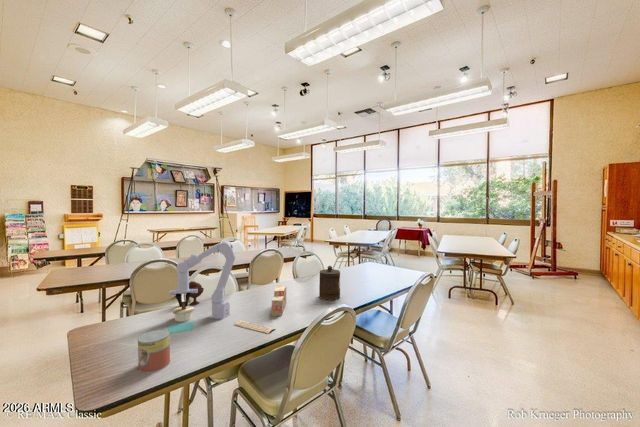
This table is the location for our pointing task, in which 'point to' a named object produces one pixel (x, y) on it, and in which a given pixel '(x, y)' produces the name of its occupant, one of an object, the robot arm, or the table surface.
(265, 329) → the tan wooden plank
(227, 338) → the table surface
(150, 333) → the canned food
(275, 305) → the stack of blocks
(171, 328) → the mat
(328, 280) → the wooden container
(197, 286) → the ice cream bowl
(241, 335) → the table surface
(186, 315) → the bowl
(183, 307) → the cover
